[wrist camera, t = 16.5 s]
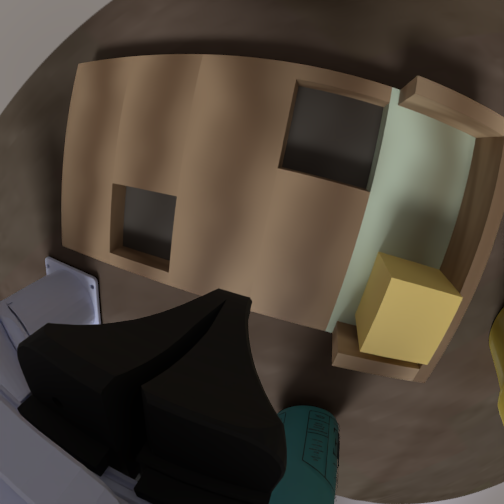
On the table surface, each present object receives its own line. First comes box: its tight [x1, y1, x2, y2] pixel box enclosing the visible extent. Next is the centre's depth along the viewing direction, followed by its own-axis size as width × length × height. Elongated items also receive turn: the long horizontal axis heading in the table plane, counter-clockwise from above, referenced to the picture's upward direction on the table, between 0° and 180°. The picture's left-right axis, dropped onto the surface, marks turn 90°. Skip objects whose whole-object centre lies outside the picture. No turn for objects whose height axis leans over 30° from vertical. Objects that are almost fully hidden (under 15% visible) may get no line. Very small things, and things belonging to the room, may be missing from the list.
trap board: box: [61, 54, 504, 383], centre depth 17 cm, size 30×16×6 cm, turn 79°
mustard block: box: [355, 252, 463, 365], centre depth 15 cm, size 4×4×4 cm
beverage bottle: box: [269, 406, 340, 504], centre depth 15 cm, size 6×7×20 cm
